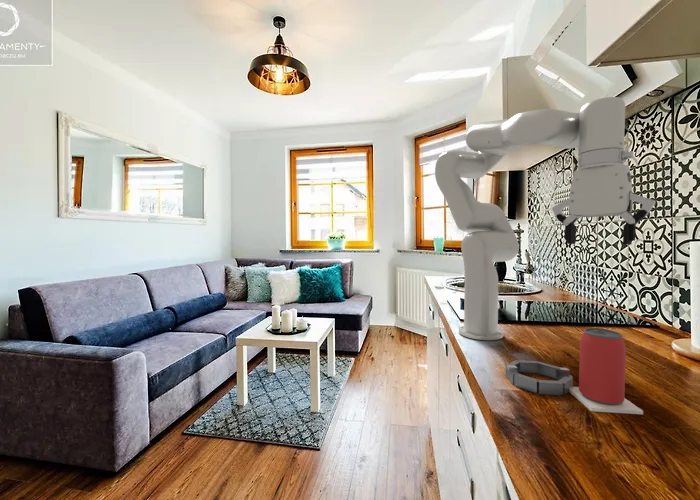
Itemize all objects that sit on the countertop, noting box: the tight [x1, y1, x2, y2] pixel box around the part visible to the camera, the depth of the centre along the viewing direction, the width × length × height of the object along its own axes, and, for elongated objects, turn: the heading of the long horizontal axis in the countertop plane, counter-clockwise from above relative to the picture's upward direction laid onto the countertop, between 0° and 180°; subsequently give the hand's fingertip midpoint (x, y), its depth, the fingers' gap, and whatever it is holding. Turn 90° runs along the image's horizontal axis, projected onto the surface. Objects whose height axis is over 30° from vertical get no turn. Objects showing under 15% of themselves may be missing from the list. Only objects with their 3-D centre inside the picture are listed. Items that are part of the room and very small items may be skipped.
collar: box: [505, 359, 574, 396], centre depth 67 cm, size 11×12×3 cm
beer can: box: [578, 327, 627, 405], centre depth 59 cm, size 7×7×12 cm
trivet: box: [568, 386, 644, 415], centre depth 59 cm, size 8×8×1 cm
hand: (597, 244), depth 68 cm, fingers open, 9 cm apart
